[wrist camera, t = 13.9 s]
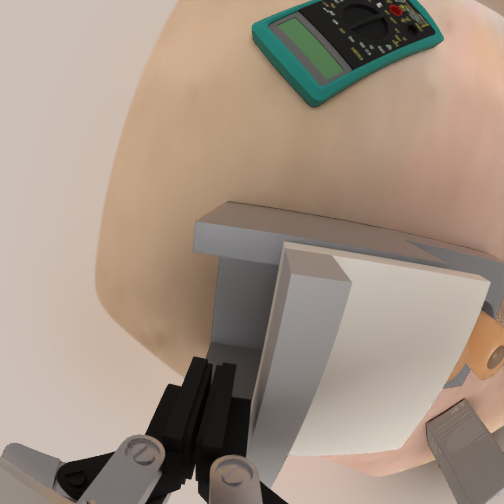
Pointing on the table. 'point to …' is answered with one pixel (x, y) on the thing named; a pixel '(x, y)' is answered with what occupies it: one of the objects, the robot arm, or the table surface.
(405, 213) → the table surface
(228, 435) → the robot arm
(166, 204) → the table surface
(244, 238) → the housing
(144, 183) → the table surface
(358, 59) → the digital multimeter
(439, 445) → the skincare box
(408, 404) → the lid
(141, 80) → the table surface
